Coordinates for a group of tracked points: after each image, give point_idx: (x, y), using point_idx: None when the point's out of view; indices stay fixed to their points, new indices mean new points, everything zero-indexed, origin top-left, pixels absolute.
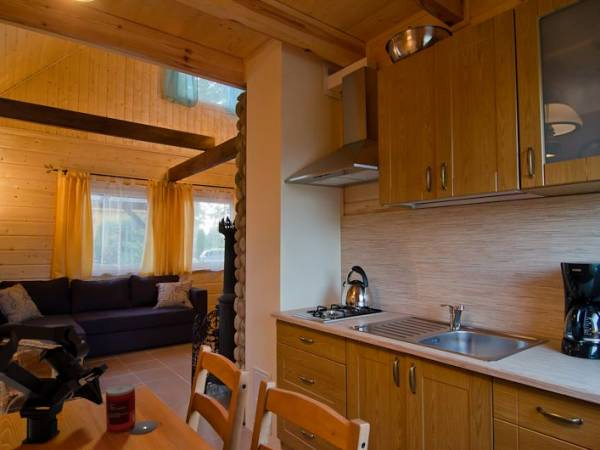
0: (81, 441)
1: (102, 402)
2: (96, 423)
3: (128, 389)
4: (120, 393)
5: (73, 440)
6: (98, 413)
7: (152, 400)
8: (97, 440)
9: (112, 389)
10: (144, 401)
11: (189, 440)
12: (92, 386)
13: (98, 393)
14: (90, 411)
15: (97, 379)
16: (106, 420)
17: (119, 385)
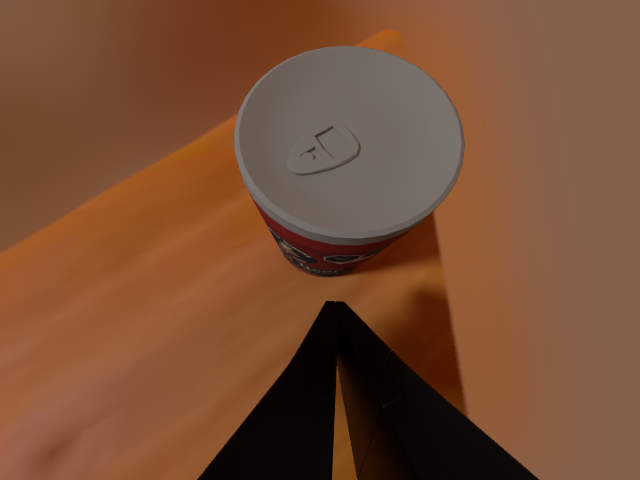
0: (432, 323)
1: (332, 301)
2: (294, 347)
3: (349, 83)
4: (443, 95)
5: (430, 361)
6: (191, 400)
7: (96, 208)
8: (418, 267)
9: (345, 201)
10: (97, 237)
11: (388, 45)
12: (425, 414)
13: (336, 342)
14: (158, 466)
15: (254, 467)
16: (354, 268)
17: (266, 173)
